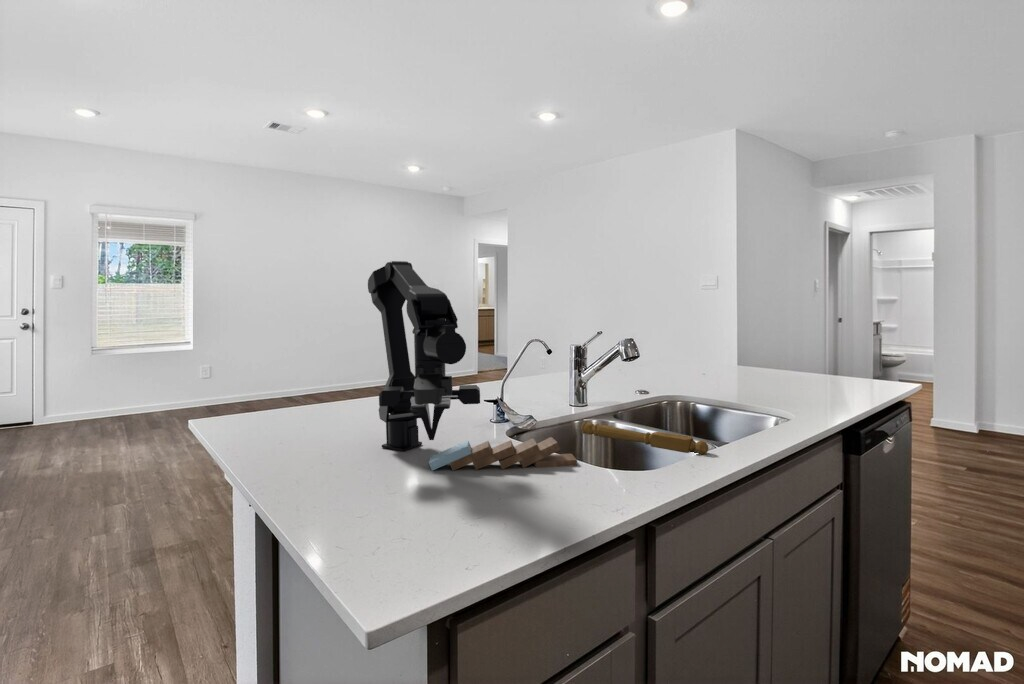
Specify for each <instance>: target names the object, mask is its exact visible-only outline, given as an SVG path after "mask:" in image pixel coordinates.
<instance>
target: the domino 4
mask: <svg viewBox="0 0 1024 684" xmlns="http://www.w3.org/2000/svg"><path fill="white" fill-rule="evenodd" d="M537 444H538V443H537V442H536V440H535V439H534V438H533V437H532V438H530V439H528V440H526V441H523V442H522V443H519V444H517V445H515V446H514V451H515V454H514V455H511V456H509V457H506V458H504V459H501V460H499V461H498V463H499V465H500V467H501V469H502V470H504V469H507V468H509V467H511V466H513V465H515V464H517V463H519V461H522V460H524V459H526V458H528V457H530V456H532V455H534V454H537V453H539V452H540V450H539V447H538V445H537Z"/></svg>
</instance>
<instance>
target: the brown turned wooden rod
mask: <svg viewBox="0 0 1024 684" xmlns="http://www.w3.org/2000/svg"><path fill="white" fill-rule="evenodd" d="M580 430H581V433H582V434H584V435H585V434H586V435H594V437H595V436H596V437H602V438H607V439H615V440H620V441H629V442H635V443H636V442H637V443H642V444H643V443H644V444H645V445H650V447H652V448H657V449H661V450H662V449H663V450H667V451H673V452H680V453H684V454H689V453H691V452H692V453H693V452H696V453H697V454H698V455H706V454H707V453H708V451H709V445H708V442H706V441H705V440H699V441H697V442H696V440H694V437H692V436H688V435H681V434H677V433H676V434H675V433H670V432H662V431H655V432H652V433H650V432H646V433H645V432H640V431H635V430H630V429H626V428H621V427H616V426H611V425H605V424H599V423H597V424H594V423H592V422H583V423H582V424H581V427H580Z"/></svg>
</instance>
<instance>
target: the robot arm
mask: <svg viewBox="0 0 1024 684" xmlns="http://www.w3.org/2000/svg"><path fill="white" fill-rule="evenodd" d="M367 289H368V290H367V291H368V293H369V294H370V296H371V302H372V304H373V305H374V306H375V307H376V308H377V310H378V311H379V313H380V314H381V321H382V330H383V331H382V332H383V336H384V345H385V353H386V360H387V367H388V375H389V376H388V378H387V381H386V383H385V386H384V387H383V389H382V390H381V391H380V393H379V394H378V405H379V408H378V415H379V420H381V421H383V422H384V423H385V429H386V430H385V432H386V433H385V436H386V439H385V440H386V443H383V444H381V448H385V449H390V450H395V451H399V452H403V451H407V450H411V449H413V448H415V447H419V446H422V445H423V442H422V441H420V439H419V425H418V419H421V421H422V423H423V427H424V429H425V432H426V435H427V437H428V440H429V441H434V440H435V436H436V433H437V430H438V426H439V422H440V421H441V418H442V415H443V413H444V411H445V410H448V409H450V408H451V400H452V401H453V400H458V401H459V402H461V404H463V405H479V404H481V390H480V387H479V385H477V384H460V385H459V388H458V389H453V377H452V375H446V365H455V364H457V363H459V362H460V361H462V360H463V358H464V356H465V355H466V352H467V345H466V342H465V339H464V337H463V336H462V335H461V334H460V333H458V332H456V329H458V328H459V326H458V317H457V316H456V313H455V311H454V308H453V307H452V303H451V301H450V299H449V298H448V296H447V295H446V293H445V292H443V291H442V290H440V289H438V288H436V287H435V288H434V287H430V286H428V285H427V284H426V283H425V282H424V280H423V279H422V278H421V277H420V275H418V273H417V272H416V271H415V270H414V269H413V265H412V263H411V262H409V261H404V260H403V261H401V260H397V261H396V260H390V261H389V262H386V263H385V264H384V266H382V267H380V268H377V269H375V270H374V271H372V272H371V274H370V275H369V278H368V279H367ZM405 303H406V314H407V317H408V319H409V321H410V323H411V324H412V327H413V329H412V334H413V339H414V340H413V341H414V342H413V343H414V344H413V345H414V373H413V372H412V371H411V370H412V369H411V363H410V355H409V348H408V342H407V334H406V327H405V321H404V319H405V318H404V314H403V306H404V305H405ZM429 404H432V405H434V406H433V413H432V414H433V415H432V421H431V413H430V407H429V406H430V405H429Z"/></svg>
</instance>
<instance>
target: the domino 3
mask: <svg viewBox="0 0 1024 684" xmlns="http://www.w3.org/2000/svg"><path fill="white" fill-rule="evenodd" d="M514 447H515V446H514V444H513V442H512V439H511V440H507V441H506V442H503V443H501V444H498V445H495V446H493V447H491V449H492V454H491V455H489V456H486V457H484V458H482V459H479V460H477V461H475V462H472V465H473V467H474V469H475V471H476V470H479V469H481V468H484V467H487V466H489V465H491V464H494V463H497V462H499V460H501V459H504V458H506V457H509V456H511V455H514V454H515V451H514Z"/></svg>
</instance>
